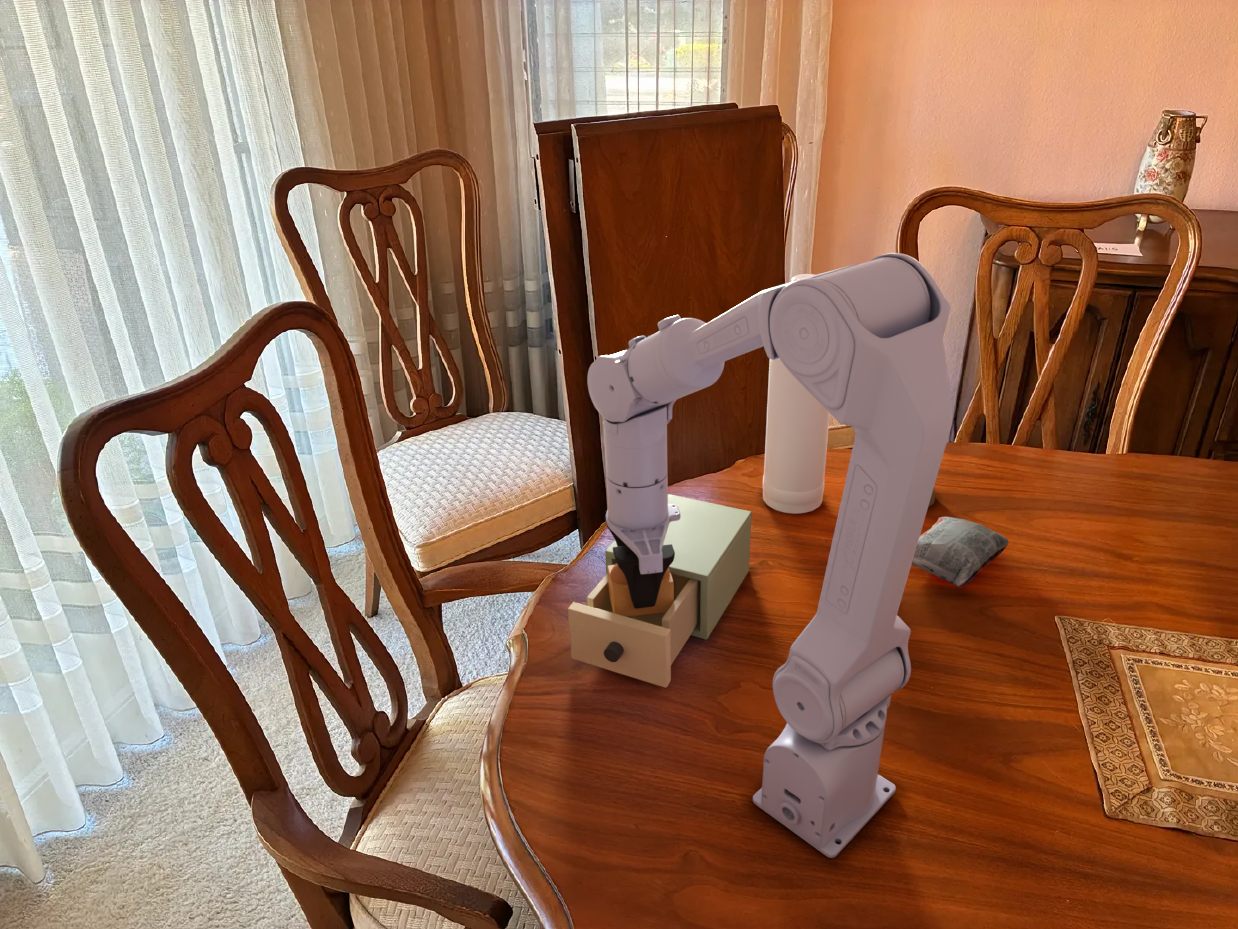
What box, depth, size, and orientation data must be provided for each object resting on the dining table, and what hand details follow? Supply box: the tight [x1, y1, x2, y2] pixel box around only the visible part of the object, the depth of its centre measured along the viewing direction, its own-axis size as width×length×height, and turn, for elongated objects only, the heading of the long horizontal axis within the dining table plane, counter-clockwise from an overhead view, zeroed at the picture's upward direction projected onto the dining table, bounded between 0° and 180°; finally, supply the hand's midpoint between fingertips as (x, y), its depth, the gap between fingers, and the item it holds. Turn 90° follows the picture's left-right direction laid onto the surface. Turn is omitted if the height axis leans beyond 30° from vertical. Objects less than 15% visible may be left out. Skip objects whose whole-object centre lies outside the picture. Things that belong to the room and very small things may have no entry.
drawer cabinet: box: [604, 493, 752, 640], centre depth 95 cm, size 14×12×8 cm
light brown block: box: [607, 564, 674, 617], centre depth 85 cm, size 6×4×5 cm, turn 98°
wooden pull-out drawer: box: [567, 563, 701, 689], centre depth 87 cm, size 14×10×6 cm
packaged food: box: [911, 516, 1010, 588], centre depth 98 cm, size 9×12×5 cm
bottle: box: [762, 273, 831, 515], centre depth 107 cm, size 8×8×30 cm
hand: (640, 591), depth 86 cm, fingers closed on light brown block, 4 cm apart
